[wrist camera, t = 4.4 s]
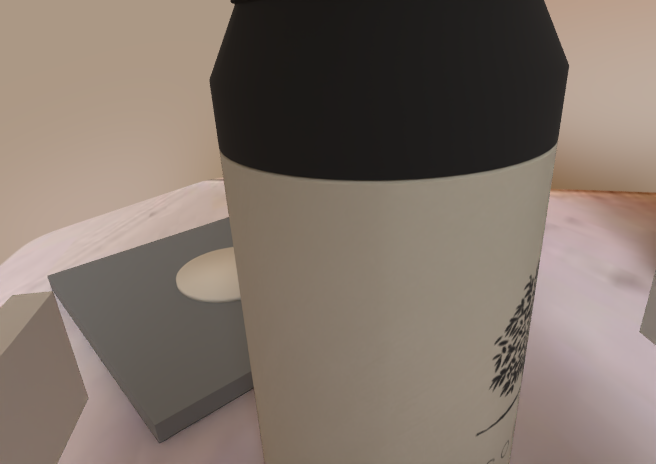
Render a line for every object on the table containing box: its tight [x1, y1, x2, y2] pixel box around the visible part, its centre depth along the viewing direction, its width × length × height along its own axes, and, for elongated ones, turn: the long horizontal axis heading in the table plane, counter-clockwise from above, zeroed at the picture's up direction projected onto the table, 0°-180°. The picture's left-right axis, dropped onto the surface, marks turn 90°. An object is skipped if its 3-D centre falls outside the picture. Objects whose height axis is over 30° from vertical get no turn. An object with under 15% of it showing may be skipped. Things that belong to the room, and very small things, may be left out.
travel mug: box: [210, 0, 569, 464], centre depth 13 cm, size 8×8×18 cm
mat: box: [48, 217, 254, 443], centre depth 31 cm, size 18×18×1 cm
